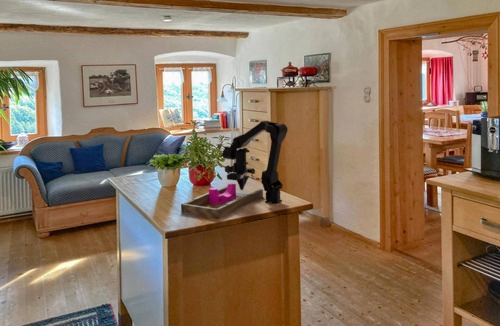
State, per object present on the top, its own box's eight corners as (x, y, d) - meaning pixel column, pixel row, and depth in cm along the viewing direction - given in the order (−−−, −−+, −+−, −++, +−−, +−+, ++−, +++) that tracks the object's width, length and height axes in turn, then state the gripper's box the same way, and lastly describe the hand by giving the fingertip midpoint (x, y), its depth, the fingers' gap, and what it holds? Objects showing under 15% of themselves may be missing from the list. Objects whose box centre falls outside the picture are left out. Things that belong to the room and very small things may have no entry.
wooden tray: (262, 196, 235) (262, 188, 234) (217, 218, 201) (217, 209, 200) (229, 192, 246) (229, 184, 245) (181, 212, 212) (180, 203, 211)
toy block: (217, 205, 222) (216, 190, 221) (209, 203, 227) (208, 188, 225) (239, 199, 233) (239, 185, 231) (231, 197, 237) (230, 183, 236)
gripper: (237, 156, 245) (238, 184, 248) (217, 162, 230) (218, 192, 233) (255, 158, 240) (255, 186, 243) (235, 164, 224) (236, 194, 227)
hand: (241, 189), depth 236 cm, fingers closed
